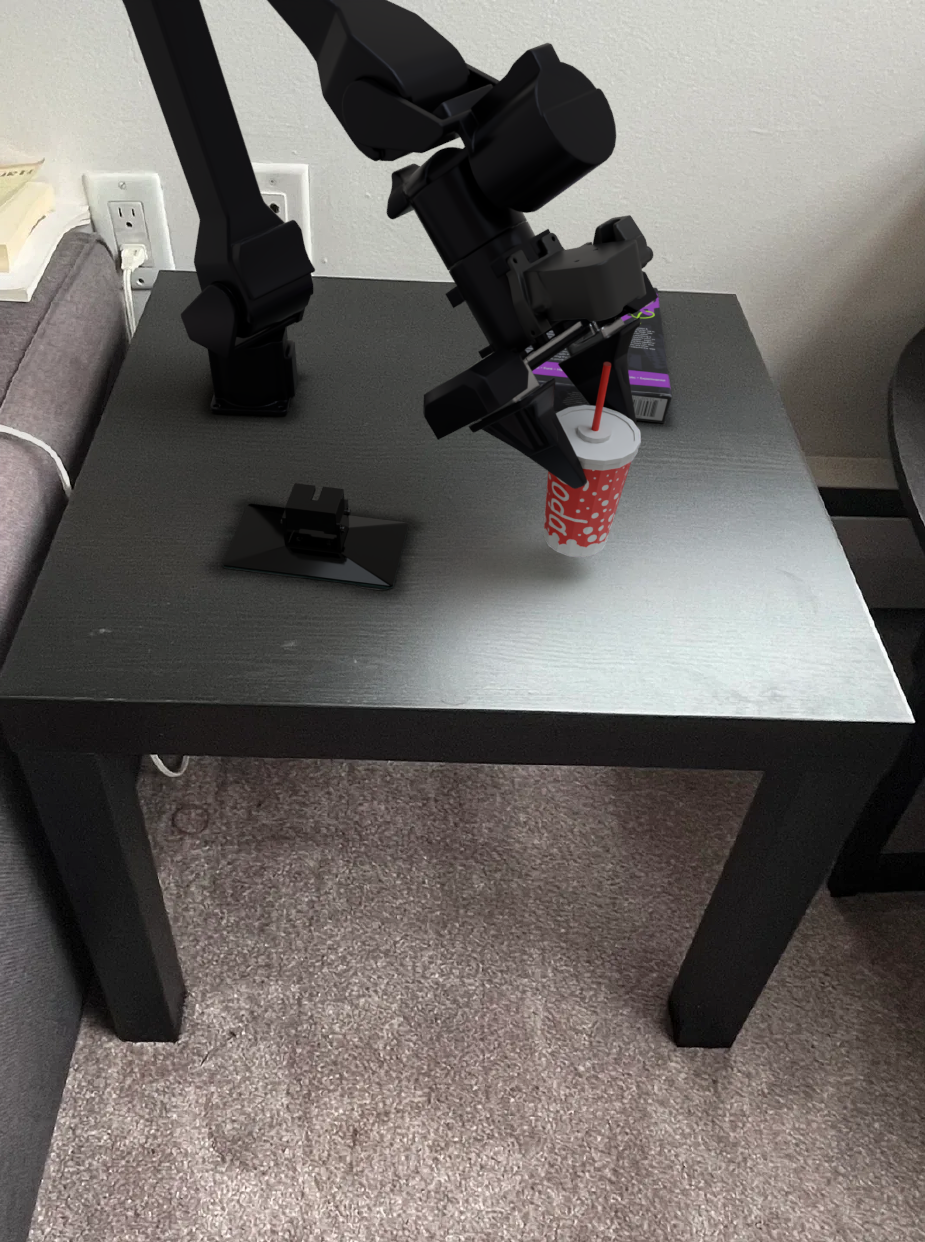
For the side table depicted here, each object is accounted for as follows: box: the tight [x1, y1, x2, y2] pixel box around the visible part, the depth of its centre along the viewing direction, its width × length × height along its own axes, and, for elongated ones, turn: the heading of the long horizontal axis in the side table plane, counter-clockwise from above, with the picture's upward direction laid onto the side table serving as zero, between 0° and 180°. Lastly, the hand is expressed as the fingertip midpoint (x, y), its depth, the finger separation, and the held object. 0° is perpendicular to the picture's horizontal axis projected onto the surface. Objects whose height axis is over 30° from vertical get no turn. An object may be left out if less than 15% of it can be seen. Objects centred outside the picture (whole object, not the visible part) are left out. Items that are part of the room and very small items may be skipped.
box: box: [525, 287, 673, 424], centre depth 91 cm, size 14×4×20 cm
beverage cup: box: [542, 362, 642, 558], centre depth 65 cm, size 6×6×14 cm
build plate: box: [222, 482, 409, 591], centre depth 71 cm, size 12×7×5 cm, turn 83°
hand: (607, 464), depth 64 cm, fingers closed on beverage cup, 6 cm apart
